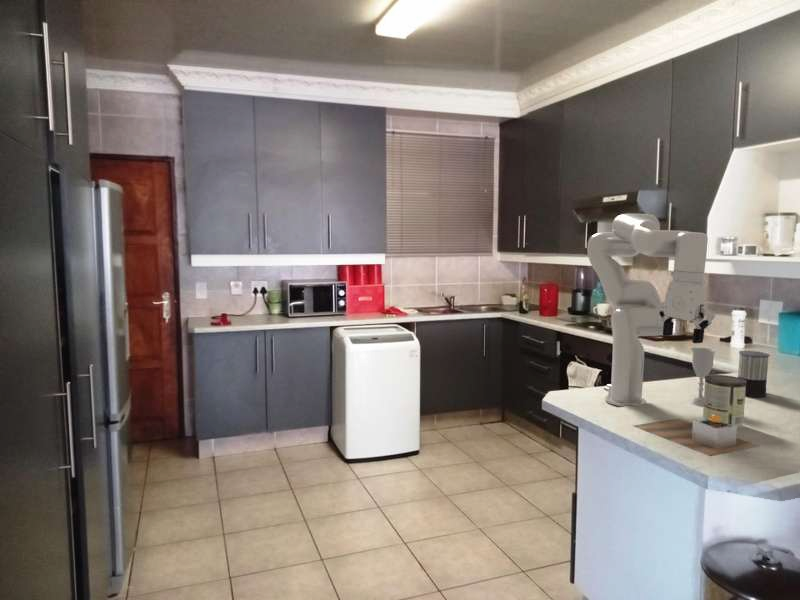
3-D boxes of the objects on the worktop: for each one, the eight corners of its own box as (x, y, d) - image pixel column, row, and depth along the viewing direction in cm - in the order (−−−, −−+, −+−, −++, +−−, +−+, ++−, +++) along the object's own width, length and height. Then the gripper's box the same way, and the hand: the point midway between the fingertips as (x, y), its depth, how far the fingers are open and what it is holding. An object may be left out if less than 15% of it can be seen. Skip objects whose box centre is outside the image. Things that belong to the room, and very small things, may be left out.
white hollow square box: (691, 439, 145) (692, 421, 144) (710, 436, 147) (711, 418, 147) (716, 449, 138) (718, 429, 138) (735, 445, 141) (737, 426, 140)
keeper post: (705, 441, 143) (707, 413, 143) (712, 440, 144) (714, 412, 144) (715, 445, 141) (717, 416, 140) (722, 443, 142) (724, 415, 141)
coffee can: (706, 419, 167) (709, 372, 166) (746, 426, 160) (750, 378, 159) (697, 427, 160) (700, 378, 158) (738, 435, 153) (742, 385, 151)
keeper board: (632, 430, 156) (632, 425, 155) (678, 423, 163) (678, 418, 163) (710, 462, 134) (710, 455, 134) (759, 451, 141) (760, 445, 141)
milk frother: (771, 399, 190) (774, 356, 189) (720, 396, 194) (723, 353, 192) (754, 388, 204) (757, 348, 203) (707, 385, 208) (710, 346, 206)
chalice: (698, 407, 179) (702, 352, 177) (682, 401, 186) (686, 348, 184) (717, 406, 181) (721, 351, 179) (700, 400, 188) (704, 347, 186)
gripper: (652, 274, 159) (647, 333, 161) (706, 281, 143) (700, 347, 146) (671, 274, 162) (666, 332, 164) (727, 281, 146) (720, 345, 149)
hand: (682, 339), depth 155 cm, fingers open, 9 cm apart
